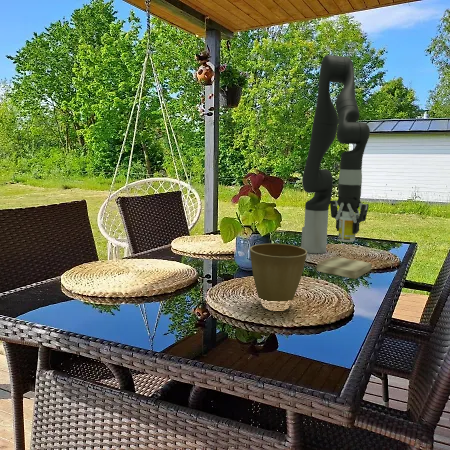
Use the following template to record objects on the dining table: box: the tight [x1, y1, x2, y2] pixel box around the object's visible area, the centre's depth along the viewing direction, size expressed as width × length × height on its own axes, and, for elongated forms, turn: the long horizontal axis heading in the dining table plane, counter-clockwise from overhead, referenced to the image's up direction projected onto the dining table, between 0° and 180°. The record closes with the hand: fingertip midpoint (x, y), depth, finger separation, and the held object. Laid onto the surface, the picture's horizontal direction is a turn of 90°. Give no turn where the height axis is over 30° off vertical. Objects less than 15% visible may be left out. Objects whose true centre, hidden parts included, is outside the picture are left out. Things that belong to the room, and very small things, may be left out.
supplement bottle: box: [338, 211, 356, 243], centre depth 157 cm, size 6×6×10 cm
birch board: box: [316, 256, 373, 280], centre depth 160 cm, size 14×14×2 cm
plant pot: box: [249, 243, 308, 301], centre depth 122 cm, size 15×15×16 cm
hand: (347, 231), depth 158 cm, fingers closed on supplement bottle, 5 cm apart
